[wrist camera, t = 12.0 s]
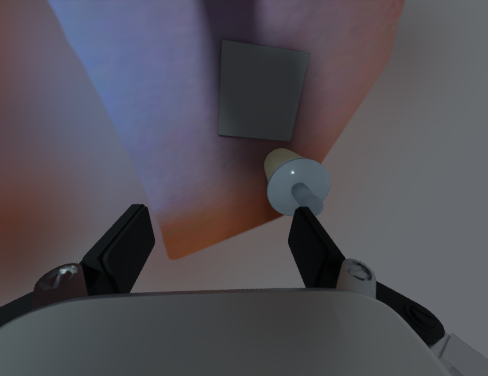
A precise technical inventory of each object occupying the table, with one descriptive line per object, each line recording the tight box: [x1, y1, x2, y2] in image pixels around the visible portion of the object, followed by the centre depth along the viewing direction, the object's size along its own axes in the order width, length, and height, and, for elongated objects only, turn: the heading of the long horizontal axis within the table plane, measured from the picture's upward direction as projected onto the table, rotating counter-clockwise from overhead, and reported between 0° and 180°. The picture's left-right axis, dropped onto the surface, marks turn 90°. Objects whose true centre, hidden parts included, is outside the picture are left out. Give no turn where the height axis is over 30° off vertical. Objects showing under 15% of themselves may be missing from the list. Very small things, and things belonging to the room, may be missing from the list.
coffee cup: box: [264, 148, 303, 182], centre depth 36 cm, size 9×9×12 cm
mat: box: [218, 39, 310, 142], centre depth 34 cm, size 16×16×1 cm
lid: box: [267, 158, 330, 216], centre depth 27 cm, size 11×11×8 cm
